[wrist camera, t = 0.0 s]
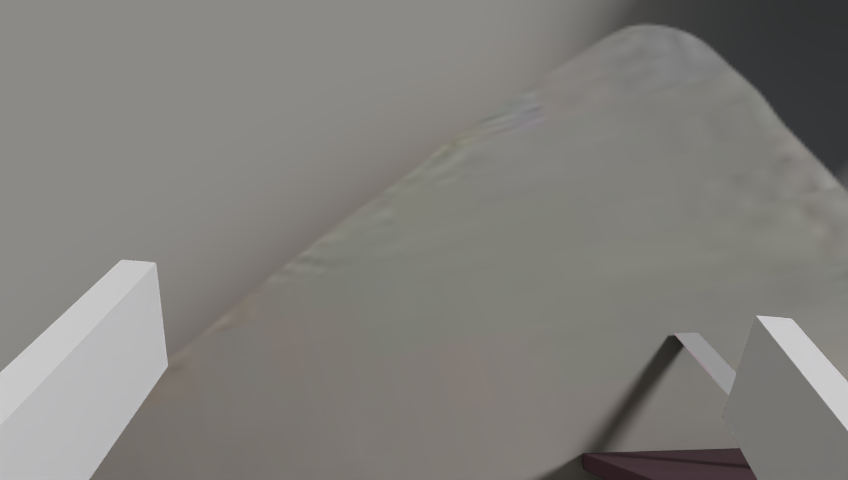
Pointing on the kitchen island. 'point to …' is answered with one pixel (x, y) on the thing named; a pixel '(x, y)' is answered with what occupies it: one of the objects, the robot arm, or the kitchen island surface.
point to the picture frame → (679, 469)
